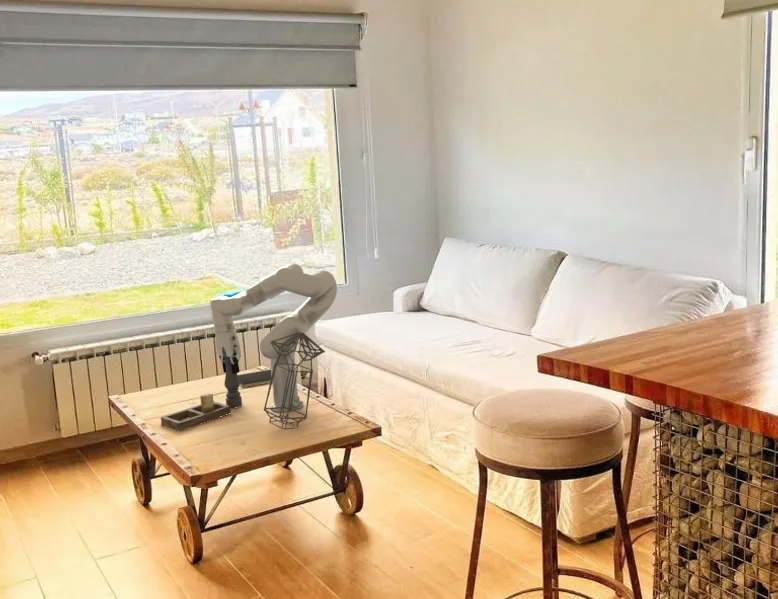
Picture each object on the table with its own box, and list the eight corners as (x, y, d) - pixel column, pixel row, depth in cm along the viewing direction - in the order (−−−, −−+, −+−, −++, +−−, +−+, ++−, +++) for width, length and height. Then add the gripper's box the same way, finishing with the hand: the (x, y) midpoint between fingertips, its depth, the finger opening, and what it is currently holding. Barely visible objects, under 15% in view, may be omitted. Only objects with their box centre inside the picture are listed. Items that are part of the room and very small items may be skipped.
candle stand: (231, 413, 337) (229, 393, 335) (179, 431, 320) (177, 410, 319) (212, 408, 345) (210, 388, 344) (161, 424, 329) (159, 404, 327)
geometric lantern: (280, 433, 305) (299, 336, 302) (252, 419, 315) (270, 326, 312) (313, 430, 317) (331, 337, 314) (285, 417, 327) (302, 327, 324)
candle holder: (237, 402, 350) (231, 342, 345) (245, 405, 345) (239, 345, 340) (223, 405, 346) (217, 345, 341) (231, 409, 342) (225, 348, 336)
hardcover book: (294, 380, 378) (293, 375, 378) (242, 389, 370) (241, 384, 370) (284, 371, 393) (284, 366, 392) (234, 380, 385) (233, 375, 384)
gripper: (245, 326, 336) (252, 371, 339) (219, 324, 348) (226, 368, 351) (229, 331, 331) (237, 377, 334) (203, 328, 343) (211, 373, 346)
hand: (231, 372), depth 343 cm, fingers closed on candle holder, 5 cm apart
